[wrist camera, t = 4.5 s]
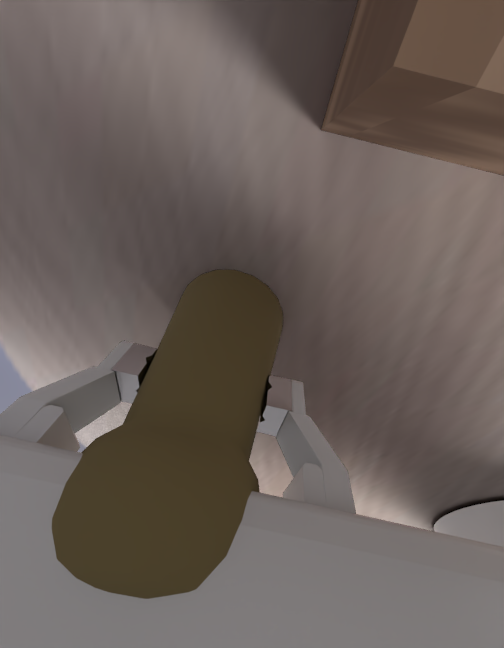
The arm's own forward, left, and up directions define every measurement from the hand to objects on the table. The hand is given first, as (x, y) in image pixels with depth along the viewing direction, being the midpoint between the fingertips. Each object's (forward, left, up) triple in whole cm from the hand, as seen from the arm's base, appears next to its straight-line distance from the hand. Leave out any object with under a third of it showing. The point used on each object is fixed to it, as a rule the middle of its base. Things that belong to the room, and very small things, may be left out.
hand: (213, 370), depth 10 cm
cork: (0, 0, -4) cm, 4 cm away
